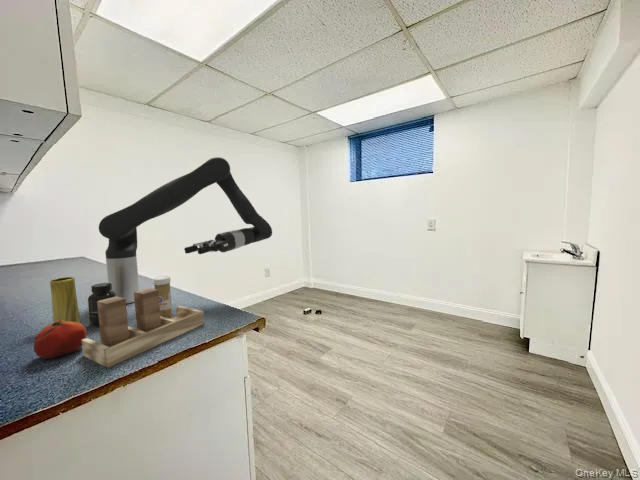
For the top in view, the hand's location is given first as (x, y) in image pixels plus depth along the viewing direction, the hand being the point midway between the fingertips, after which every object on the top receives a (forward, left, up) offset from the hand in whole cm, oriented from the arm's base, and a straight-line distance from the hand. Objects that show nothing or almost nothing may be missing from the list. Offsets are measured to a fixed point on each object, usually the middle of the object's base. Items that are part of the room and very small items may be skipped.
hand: (191, 251), depth 91 cm
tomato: (-2, -35, -21) cm, 41 cm away
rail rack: (+9, -21, -20) cm, 30 cm away
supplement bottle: (-14, -21, -21) cm, 33 cm away
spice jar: (0, -11, -21) cm, 23 cm away
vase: (-22, -27, -21) cm, 41 cm away
